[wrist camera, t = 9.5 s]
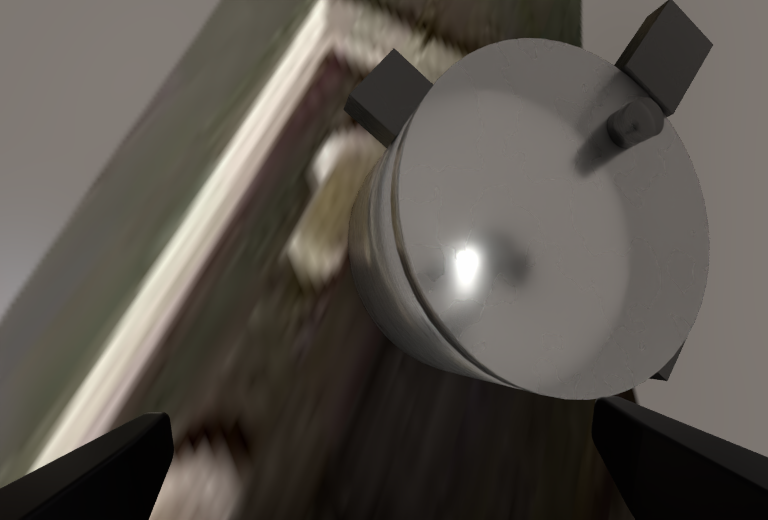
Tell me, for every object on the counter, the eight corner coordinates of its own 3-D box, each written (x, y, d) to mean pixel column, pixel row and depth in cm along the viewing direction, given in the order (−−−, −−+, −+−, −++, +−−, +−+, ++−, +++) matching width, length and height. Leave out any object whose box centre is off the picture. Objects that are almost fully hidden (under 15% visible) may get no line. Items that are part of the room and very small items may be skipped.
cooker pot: (524, 450, 23) (635, 502, 16) (254, 231, 20) (253, 185, 14) (628, 259, 27) (750, 237, 20) (415, 57, 24) (474, -42, 18)
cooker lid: (601, 471, 15) (654, 494, 13) (309, 228, 14) (318, 211, 11) (758, 135, 21) (813, 114, 19) (568, -68, 19) (605, -115, 17)
